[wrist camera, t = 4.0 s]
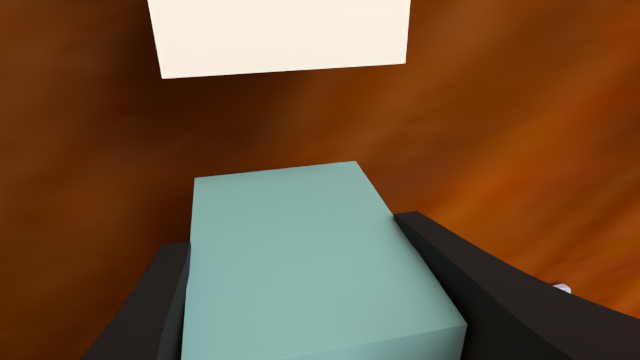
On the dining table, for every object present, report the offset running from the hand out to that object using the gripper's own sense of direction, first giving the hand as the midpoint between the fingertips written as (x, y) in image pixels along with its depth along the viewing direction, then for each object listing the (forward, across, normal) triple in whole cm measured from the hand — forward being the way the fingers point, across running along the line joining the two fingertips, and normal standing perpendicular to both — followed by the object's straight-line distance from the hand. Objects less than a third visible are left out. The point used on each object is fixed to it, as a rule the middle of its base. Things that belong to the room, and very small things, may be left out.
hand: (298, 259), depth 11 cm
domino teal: (+3, 0, 0) cm, 3 cm away
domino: (+7, 0, -6) cm, 9 cm away
